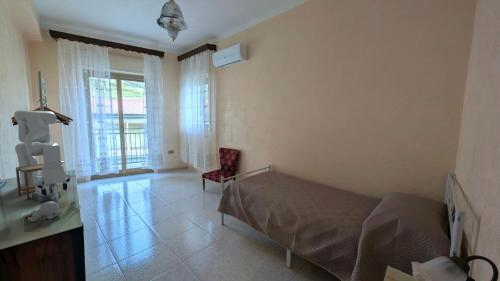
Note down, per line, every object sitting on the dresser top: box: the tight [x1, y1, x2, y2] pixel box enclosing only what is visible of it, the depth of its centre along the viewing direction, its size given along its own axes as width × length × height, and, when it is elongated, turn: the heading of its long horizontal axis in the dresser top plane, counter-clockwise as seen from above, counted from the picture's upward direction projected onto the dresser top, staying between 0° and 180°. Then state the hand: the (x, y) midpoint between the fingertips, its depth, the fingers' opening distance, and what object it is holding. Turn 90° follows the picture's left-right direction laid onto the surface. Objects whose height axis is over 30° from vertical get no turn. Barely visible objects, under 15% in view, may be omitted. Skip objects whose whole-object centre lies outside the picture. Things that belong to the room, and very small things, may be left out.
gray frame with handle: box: [31, 183, 62, 203], centre depth 133 cm, size 19×10×10 cm, turn 62°
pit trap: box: [16, 186, 36, 195], centre depth 147 cm, size 10×10×2 cm
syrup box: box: [34, 174, 51, 196], centre depth 135 cm, size 6×6×14 cm
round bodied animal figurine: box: [27, 200, 62, 223], centre depth 108 cm, size 7×12×8 cm, turn 127°
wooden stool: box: [15, 163, 55, 200], centre depth 140 cm, size 14×14×18 cm
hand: (55, 192), depth 129 cm, fingers open, 9 cm apart
